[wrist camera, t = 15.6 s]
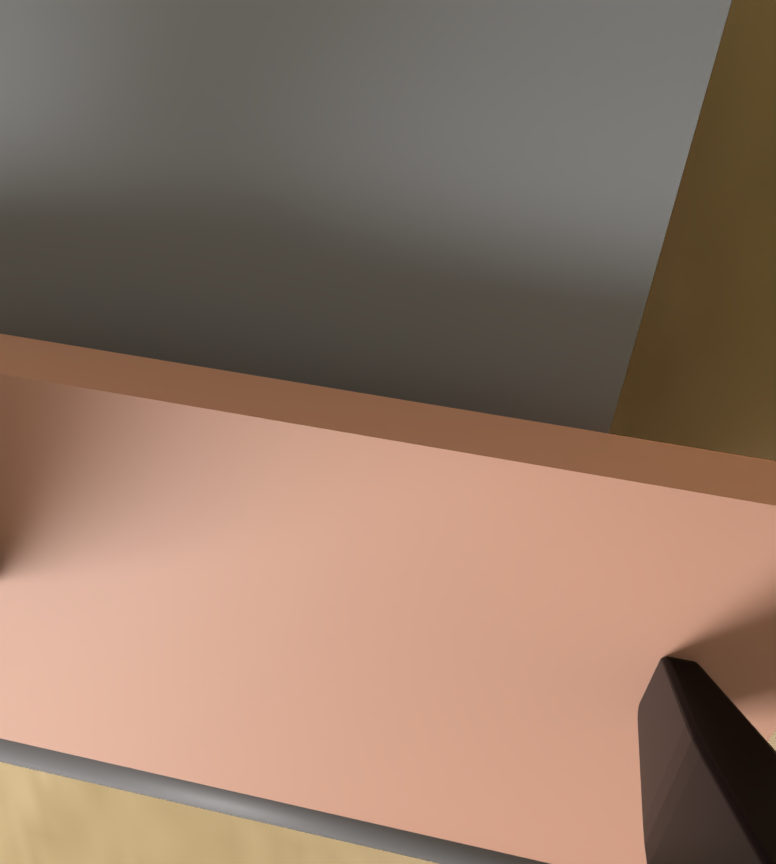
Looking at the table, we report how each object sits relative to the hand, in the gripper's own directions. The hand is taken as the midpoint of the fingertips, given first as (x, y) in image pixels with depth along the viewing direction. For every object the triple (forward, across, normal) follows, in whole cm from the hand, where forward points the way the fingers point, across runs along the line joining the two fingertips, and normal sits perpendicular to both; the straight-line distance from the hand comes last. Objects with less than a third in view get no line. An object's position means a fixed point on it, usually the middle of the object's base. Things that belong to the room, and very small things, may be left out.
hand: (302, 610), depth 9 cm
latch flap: (+1, 0, +5) cm, 5 cm away
